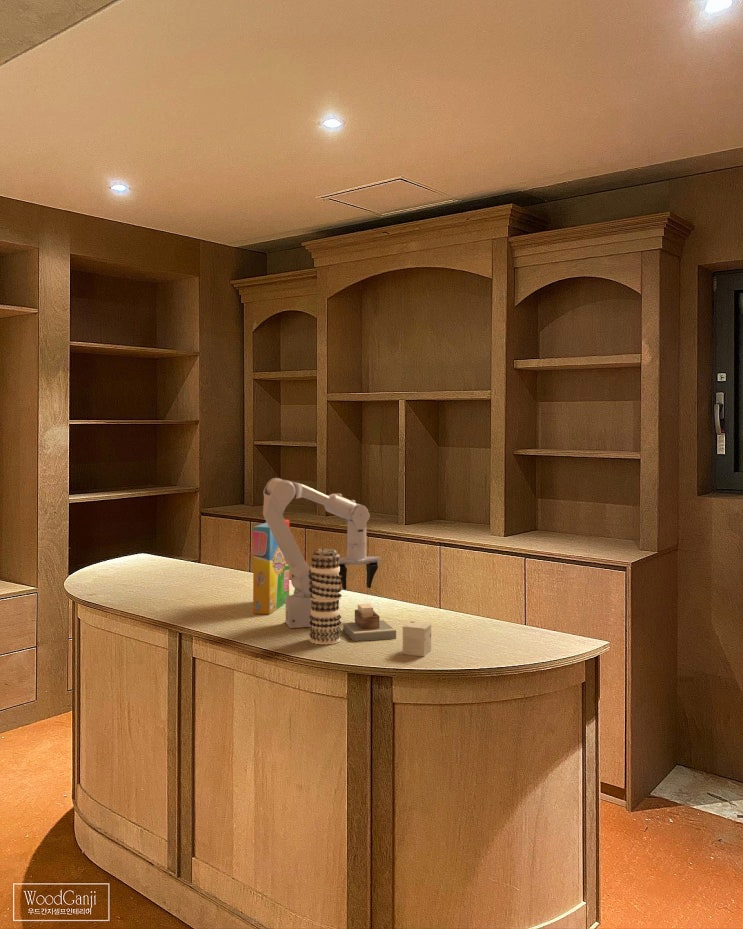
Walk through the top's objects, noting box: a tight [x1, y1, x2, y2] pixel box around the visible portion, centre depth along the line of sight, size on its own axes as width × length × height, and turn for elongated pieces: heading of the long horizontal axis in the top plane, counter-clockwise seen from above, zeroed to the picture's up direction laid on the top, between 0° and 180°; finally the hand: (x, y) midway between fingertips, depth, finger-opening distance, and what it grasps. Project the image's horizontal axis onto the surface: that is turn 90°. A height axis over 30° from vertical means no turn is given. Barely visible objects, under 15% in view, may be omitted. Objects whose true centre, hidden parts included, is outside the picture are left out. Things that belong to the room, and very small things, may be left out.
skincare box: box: [402, 620, 432, 657], centre depth 210 cm, size 6×6×7 cm
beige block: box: [357, 603, 374, 617], centre depth 230 cm, size 3×5×3 cm, turn 16°
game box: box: [252, 518, 290, 615], centre depth 257 cm, size 21×6×27 cm, turn 168°
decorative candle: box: [308, 548, 343, 646], centre depth 219 cm, size 9×9×25 cm
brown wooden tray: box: [354, 609, 380, 629], centre depth 229 cm, size 5×9×3 cm, turn 14°
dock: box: [342, 619, 397, 642], centre depth 227 cm, size 12×12×2 cm
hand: (356, 588), depth 243 cm, fingers open, 7 cm apart
